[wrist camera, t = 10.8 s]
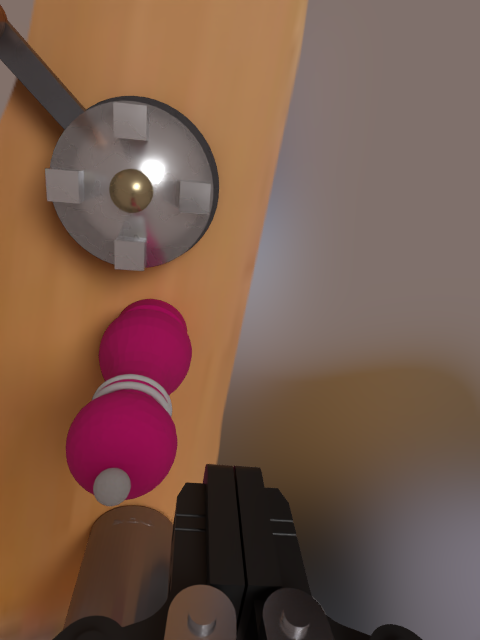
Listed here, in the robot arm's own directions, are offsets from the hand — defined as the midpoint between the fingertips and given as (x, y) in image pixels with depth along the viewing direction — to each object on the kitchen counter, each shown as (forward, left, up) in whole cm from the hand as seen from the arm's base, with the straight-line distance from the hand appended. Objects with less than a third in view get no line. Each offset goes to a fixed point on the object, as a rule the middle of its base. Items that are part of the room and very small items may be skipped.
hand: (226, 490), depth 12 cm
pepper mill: (-7, +4, -27) cm, 29 cm away
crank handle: (+8, +9, -25) cm, 28 cm away
